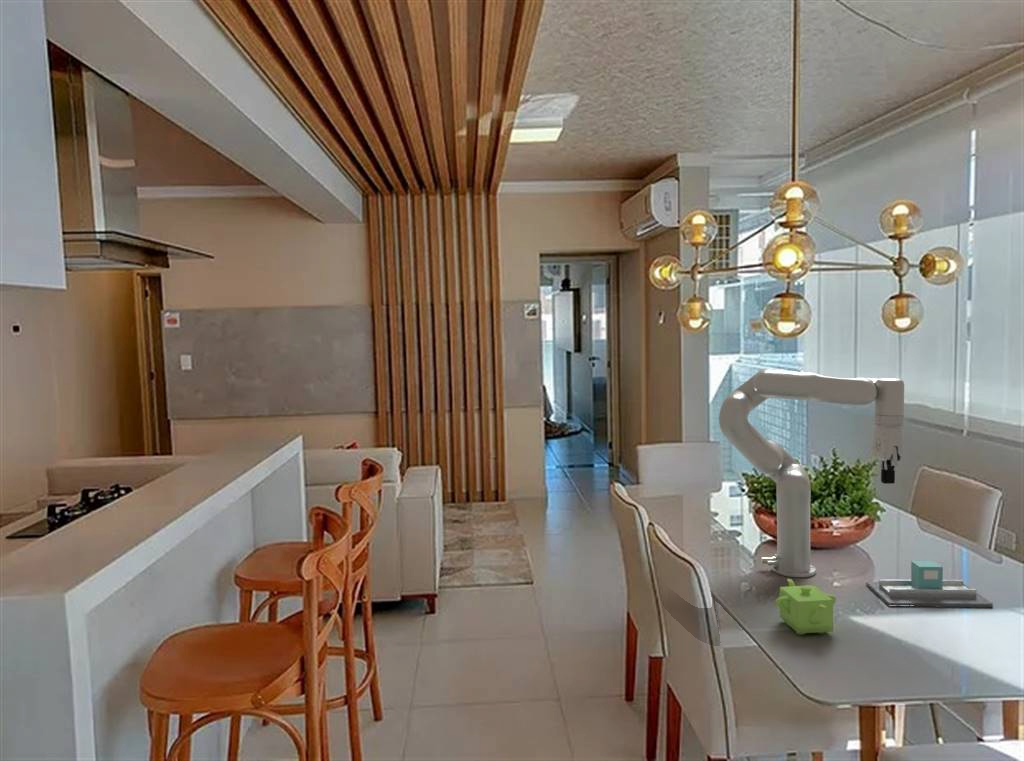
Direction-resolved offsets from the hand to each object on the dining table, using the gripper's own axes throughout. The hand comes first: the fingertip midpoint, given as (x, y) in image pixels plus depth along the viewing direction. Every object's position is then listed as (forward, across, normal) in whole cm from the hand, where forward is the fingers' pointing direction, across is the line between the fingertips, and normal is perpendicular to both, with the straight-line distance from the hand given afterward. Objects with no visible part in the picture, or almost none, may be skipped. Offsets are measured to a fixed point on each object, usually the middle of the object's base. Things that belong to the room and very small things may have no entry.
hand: (887, 482), depth 212 cm
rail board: (+29, +14, +6) cm, 32 cm away
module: (+27, +14, +6) cm, 30 cm away
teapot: (+29, +37, -33) cm, 57 cm away
